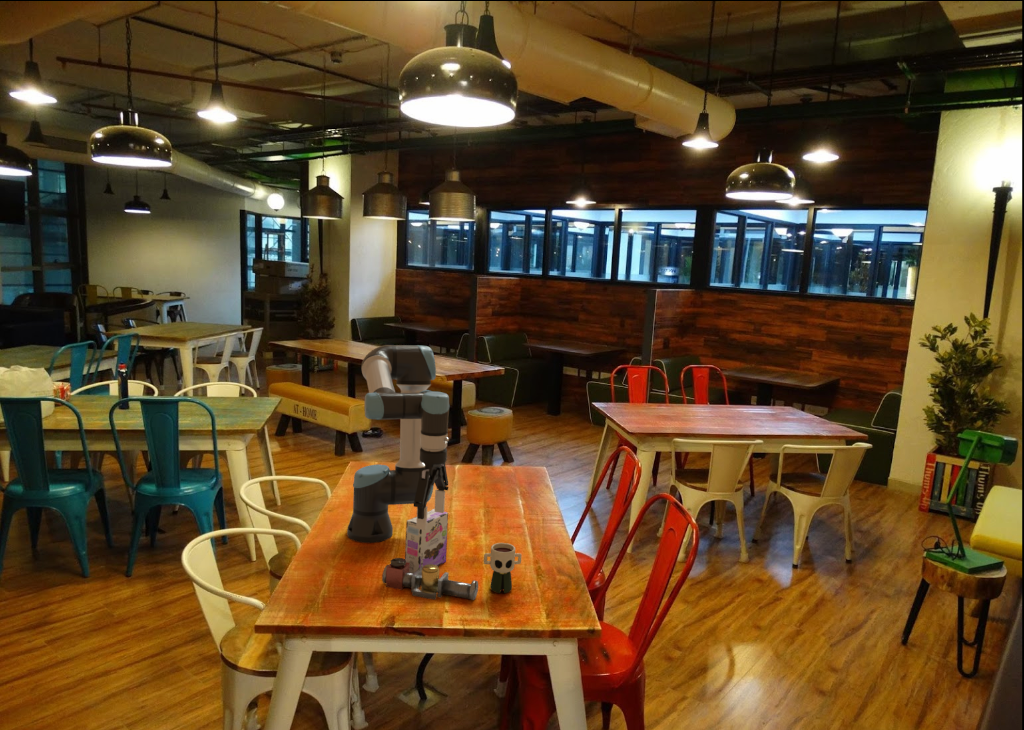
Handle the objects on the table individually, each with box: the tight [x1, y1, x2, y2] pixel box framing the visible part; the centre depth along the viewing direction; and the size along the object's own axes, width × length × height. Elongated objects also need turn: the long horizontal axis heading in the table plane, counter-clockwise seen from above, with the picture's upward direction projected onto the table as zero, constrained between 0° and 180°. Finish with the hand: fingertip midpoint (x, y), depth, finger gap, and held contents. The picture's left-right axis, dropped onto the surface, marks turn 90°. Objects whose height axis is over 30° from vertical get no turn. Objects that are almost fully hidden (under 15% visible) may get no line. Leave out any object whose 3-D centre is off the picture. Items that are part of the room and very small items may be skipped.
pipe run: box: [381, 557, 479, 601], centre depth 200 cm, size 27×9×7 cm, turn 75°
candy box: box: [404, 508, 449, 574], centre depth 214 cm, size 14×6×16 cm, turn 148°
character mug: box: [483, 542, 522, 594], centre depth 202 cm, size 11×7×13 cm, turn 97°
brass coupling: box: [420, 564, 440, 594], centre depth 200 cm, size 5×5×7 cm
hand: (430, 520), depth 198 cm, fingers open, 13 cm apart
